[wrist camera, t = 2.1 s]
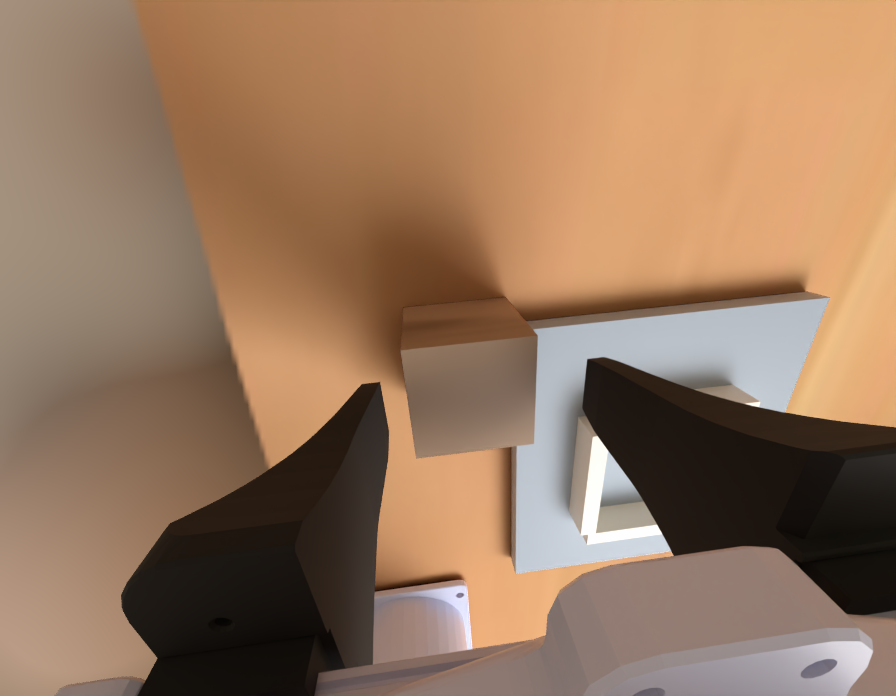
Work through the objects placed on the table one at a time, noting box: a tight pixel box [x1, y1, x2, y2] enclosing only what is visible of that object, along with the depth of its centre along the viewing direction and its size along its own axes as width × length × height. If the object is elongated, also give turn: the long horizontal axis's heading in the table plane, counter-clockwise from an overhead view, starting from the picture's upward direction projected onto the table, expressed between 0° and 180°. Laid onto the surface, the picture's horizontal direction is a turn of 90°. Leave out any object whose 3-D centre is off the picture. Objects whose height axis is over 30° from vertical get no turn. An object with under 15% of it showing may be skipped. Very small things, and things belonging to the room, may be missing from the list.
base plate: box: [511, 292, 830, 574], centre depth 18 cm, size 16×14×2 cm
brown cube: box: [400, 297, 538, 459], centre depth 14 cm, size 4×4×4 cm
